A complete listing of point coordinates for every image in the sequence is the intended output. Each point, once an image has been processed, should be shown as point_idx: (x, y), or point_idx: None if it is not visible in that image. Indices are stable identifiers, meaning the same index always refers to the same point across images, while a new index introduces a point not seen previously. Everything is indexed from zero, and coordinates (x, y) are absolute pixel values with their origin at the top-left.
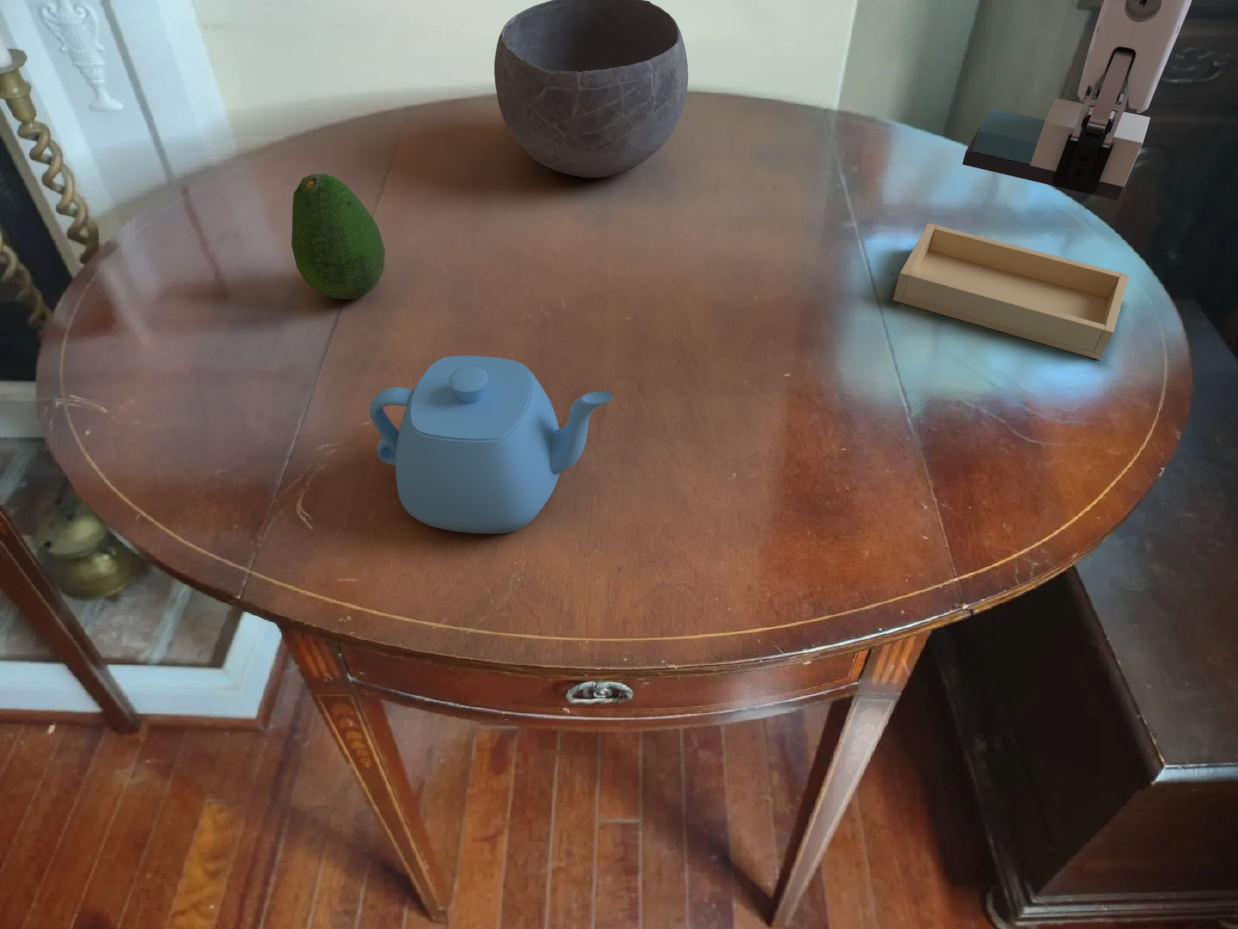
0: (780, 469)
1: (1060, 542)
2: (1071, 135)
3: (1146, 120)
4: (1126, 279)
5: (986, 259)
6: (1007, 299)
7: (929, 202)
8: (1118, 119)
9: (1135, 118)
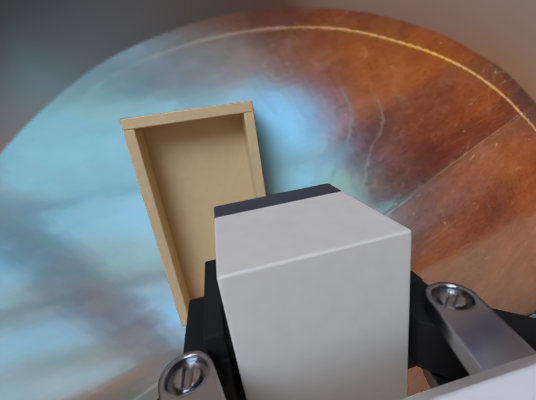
0: (473, 241)
1: (472, 62)
2: (408, 363)
3: (255, 277)
4: (133, 119)
5: (176, 256)
6: None
7: (94, 341)
8: (531, 349)
9: (259, 305)
